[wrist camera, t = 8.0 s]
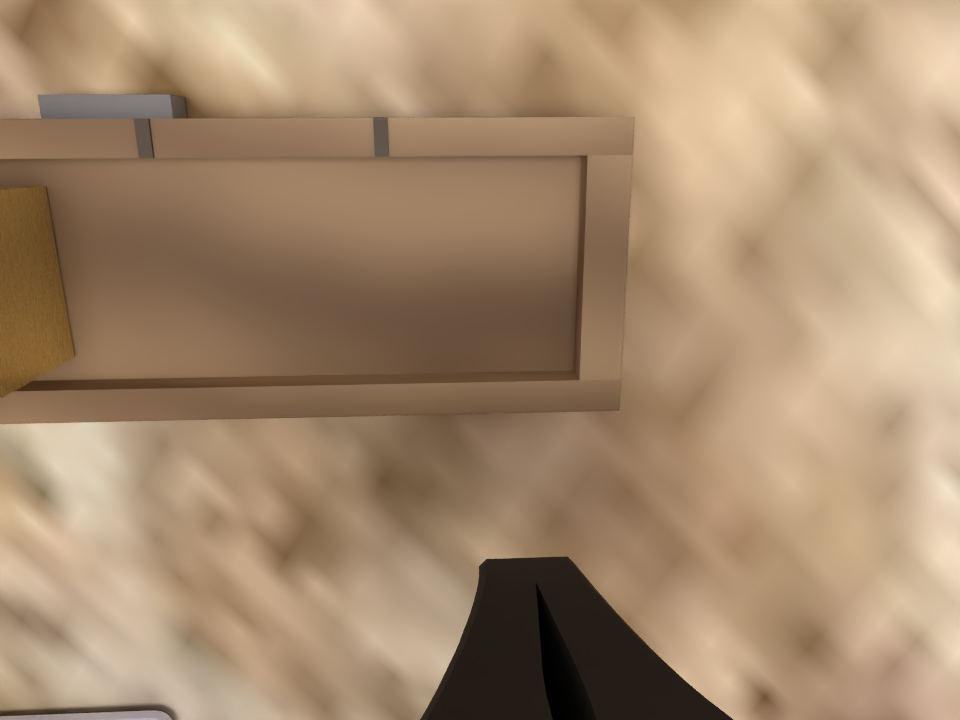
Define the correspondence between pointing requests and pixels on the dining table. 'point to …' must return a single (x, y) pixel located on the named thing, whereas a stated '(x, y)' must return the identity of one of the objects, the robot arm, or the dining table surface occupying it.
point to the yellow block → (29, 290)
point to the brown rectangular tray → (326, 262)
